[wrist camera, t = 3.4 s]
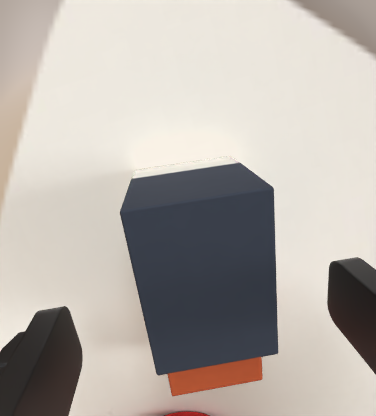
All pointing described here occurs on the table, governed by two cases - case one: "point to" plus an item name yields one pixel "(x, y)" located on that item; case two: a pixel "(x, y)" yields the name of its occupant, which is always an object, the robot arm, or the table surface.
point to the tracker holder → (187, 414)
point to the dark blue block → (204, 270)
